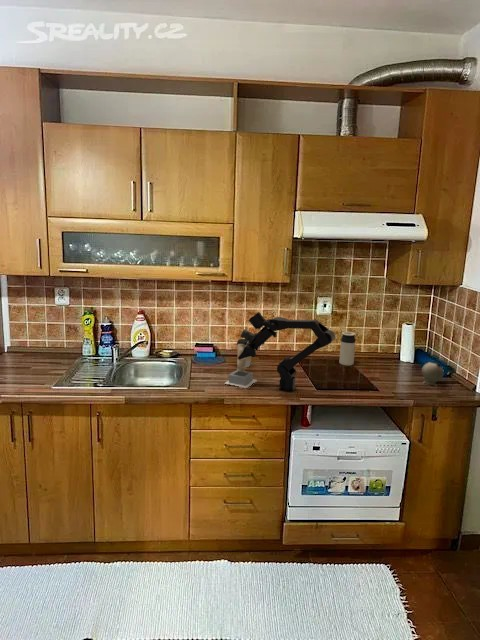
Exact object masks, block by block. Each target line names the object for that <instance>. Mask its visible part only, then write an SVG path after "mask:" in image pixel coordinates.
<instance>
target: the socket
mask: <svg viewBox="0 0 480 640" xmlns="http://www.w3.org/2000/svg"><path fill="white" fill-rule="evenodd" d="M256 381H257V382H258V380H257V379H254V372H252V371H248V370H245V371H244V372H239V371H237V369H236V370H234V371H232V372H231V373H229V374H228V380H226V382H224V385H225V384H230V385H235V386H239V387H244V388H248V387H249V386H251V385H252V384H253V383H255V382H256ZM257 382H256V383H257ZM256 383H255V384H256ZM253 385H254V384H253ZM253 385H252V386H253ZM252 386H251V387H252ZM249 388H250V387H249ZM249 388H248V389H249Z"/></svg>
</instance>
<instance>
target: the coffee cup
mask: <svg viewBox="0 0 480 640" xmlns="http://www.w3.org/2000/svg"><path fill="white" fill-rule="evenodd" d="M245 341H246V342H248V340H246V339H245V338H240V339H238V340H237V341H236V346H237V348H236V351H237V352H238V344H245ZM252 358H253V357H252V356H250V357H246V364H245V367H249V366H250V367H251V360H252Z"/></svg>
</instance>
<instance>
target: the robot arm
mask: <svg viewBox="0 0 480 640" xmlns="http://www.w3.org/2000/svg"><path fill="white" fill-rule="evenodd" d="M248 322H249V323H250V324H251V326H252V327H253V328H254V329H255V330H259V331H257V332H255V333H253V332H250V331H249V330H247V329H245V328H244V329H243V330H242V332H241V334H240V335H239V337H241V339H246V340H248V342H246V341H245V345H244V350H243V352H242V353H241V354H240V356H239V357H238V356H237V357H238V359H239V360H240V359H243V358H246V357H250V356H252V357H251V358H255V356H256V355H257V351H259V348H260V347H261V346H262V345H265V343H266V342H267V341H269V339H270V338H271V337H274V338H277V337H278V331H282V330H283V331H284V330H287V329H294V330H295V329H298V330H300V329H301V330H302V329H303V330H305V329H306V330H308V329H309V330H311V331H312V332H313V334H314V335H315V337H316V339H315V340H314V341H313V342H312V343H310V344H309V345H308V346H306V347H305V348H304V349H302V350H301V351H299V352H298V353H297V354H295V355H294V356H292V357H290V355H287V356H286V357H285V358H284V359H282V360H280V361H279V362H278V365H277V367H276V370H277V373H278V375H279V378H280V379H279V388H278V390H279V391H285V392H287V393H288V392H289V393H292V392H293V391H294V390H295V389H296V388H297V387H296V375H297V372H298V371H297V370H296V369H295V367H296V365H297V364H298V363H300V362H301V361H303V360H304V359H306V358H307V357H309V356H310V355H311V354H313V353H314V352H316V351H318V350H319V349H322V348H324V347H326V346H328V345H331V343H333V341H334V340H335V339H336V336H335V335H336V334H335V332H334V331H332V330H331V329H329V328H327V326H325V325H323V324H322V323H321V322H320V321H319V320H317V319H315V318H314V319H289V318H288V319H287V318H285V317H279V316H276V317H273V318H269V319H268V318H267V319H266V318H265V317H264V316H263V315H262V313H261V312H260V311H258V312H257V313H256V314H254V315H253V316H251V317H250V318H249V319H248Z"/></svg>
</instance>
